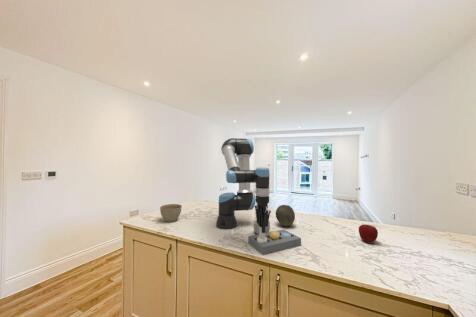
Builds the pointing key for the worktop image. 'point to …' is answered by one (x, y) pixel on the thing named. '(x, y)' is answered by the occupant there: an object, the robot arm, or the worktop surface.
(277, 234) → the button ochre
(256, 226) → the teacup
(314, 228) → the worktop surface
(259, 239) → the button ivory
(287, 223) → the smooth brown stone
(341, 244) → the worktop surface
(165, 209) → the planter bowl
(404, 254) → the worktop surface
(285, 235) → the button blue
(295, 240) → the three ball holder
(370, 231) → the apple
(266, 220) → the robot arm
